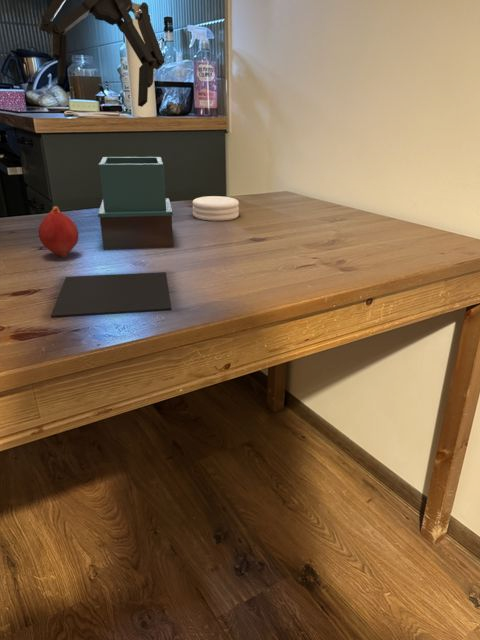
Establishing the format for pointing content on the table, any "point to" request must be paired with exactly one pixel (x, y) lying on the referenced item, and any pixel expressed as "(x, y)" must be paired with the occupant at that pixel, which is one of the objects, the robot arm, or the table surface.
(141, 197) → the box
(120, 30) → the robot arm
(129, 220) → the box
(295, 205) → the table surface
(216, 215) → the white short cylinder
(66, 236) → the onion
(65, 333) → the table surface
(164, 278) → the mat
